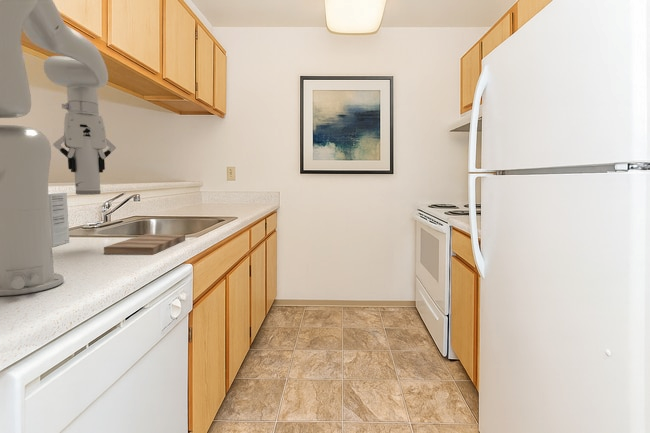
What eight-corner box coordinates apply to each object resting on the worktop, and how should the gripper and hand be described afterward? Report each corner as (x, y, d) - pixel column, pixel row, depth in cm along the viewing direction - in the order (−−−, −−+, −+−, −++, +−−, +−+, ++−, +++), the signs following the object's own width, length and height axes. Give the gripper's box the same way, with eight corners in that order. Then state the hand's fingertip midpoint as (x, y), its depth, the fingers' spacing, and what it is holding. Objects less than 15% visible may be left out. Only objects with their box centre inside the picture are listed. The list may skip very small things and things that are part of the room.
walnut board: (153, 254, 106) (152, 247, 106) (104, 254, 106) (103, 247, 106) (185, 240, 130) (185, 234, 130) (145, 239, 130) (145, 234, 130)
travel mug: (74, 194, 106) (69, 123, 104) (77, 194, 112) (72, 126, 110) (100, 194, 109) (96, 125, 107) (101, 193, 115) (97, 127, 113)
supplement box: (20, 247, 115) (16, 193, 113) (39, 242, 124) (35, 191, 122) (54, 247, 116) (50, 193, 114) (70, 242, 125) (67, 191, 123)
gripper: (48, 104, 100) (52, 171, 102) (119, 112, 111) (122, 172, 113) (45, 108, 105) (49, 172, 107) (113, 115, 117) (116, 172, 119)
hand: (87, 171), depth 110 cm, fingers closed on travel mug, 6 cm apart
